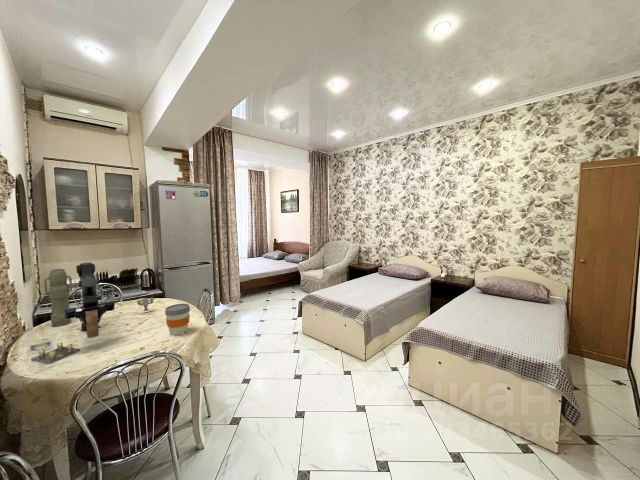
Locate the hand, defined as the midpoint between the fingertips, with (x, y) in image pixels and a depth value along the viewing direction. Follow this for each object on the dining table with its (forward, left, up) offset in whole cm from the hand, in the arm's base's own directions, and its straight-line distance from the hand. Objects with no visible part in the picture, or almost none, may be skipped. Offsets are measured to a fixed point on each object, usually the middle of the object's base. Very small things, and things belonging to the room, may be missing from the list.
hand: (92, 324), depth 125 cm
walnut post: (-1, -1, -7) cm, 7 cm away
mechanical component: (-49, -22, -13) cm, 55 cm away
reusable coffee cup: (-27, +26, -14) cm, 39 cm away
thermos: (-21, -57, -13) cm, 62 cm away
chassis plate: (+8, -12, -13) cm, 20 cm away
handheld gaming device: (+4, -30, -14) cm, 33 cm away
